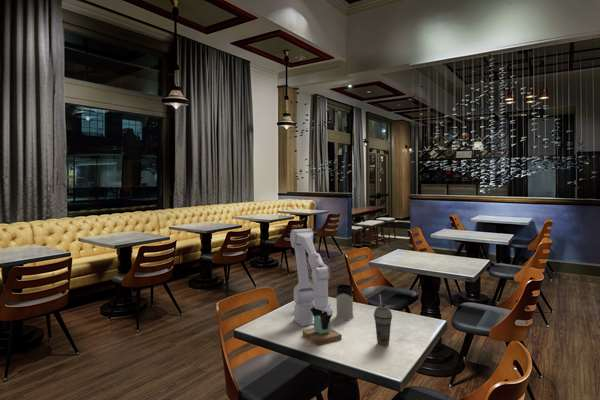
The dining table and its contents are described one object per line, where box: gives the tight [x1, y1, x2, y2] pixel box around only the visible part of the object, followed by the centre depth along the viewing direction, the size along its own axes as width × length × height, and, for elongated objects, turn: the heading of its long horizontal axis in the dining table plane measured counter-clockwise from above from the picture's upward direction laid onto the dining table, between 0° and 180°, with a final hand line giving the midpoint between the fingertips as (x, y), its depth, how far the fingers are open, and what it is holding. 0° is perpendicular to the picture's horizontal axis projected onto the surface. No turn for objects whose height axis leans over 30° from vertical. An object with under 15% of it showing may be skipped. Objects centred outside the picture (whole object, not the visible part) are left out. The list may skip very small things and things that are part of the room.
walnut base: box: [302, 327, 343, 346], centre depth 154 cm, size 12×12×2 cm
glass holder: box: [335, 284, 355, 321], centre depth 180 cm, size 9×14×15 cm, turn 167°
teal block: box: [313, 315, 331, 334], centre depth 154 cm, size 5×5×6 cm
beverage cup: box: [373, 293, 393, 347], centre depth 146 cm, size 7×7×20 cm
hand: (321, 326), depth 154 cm, fingers closed on teal block, 5 cm apart
